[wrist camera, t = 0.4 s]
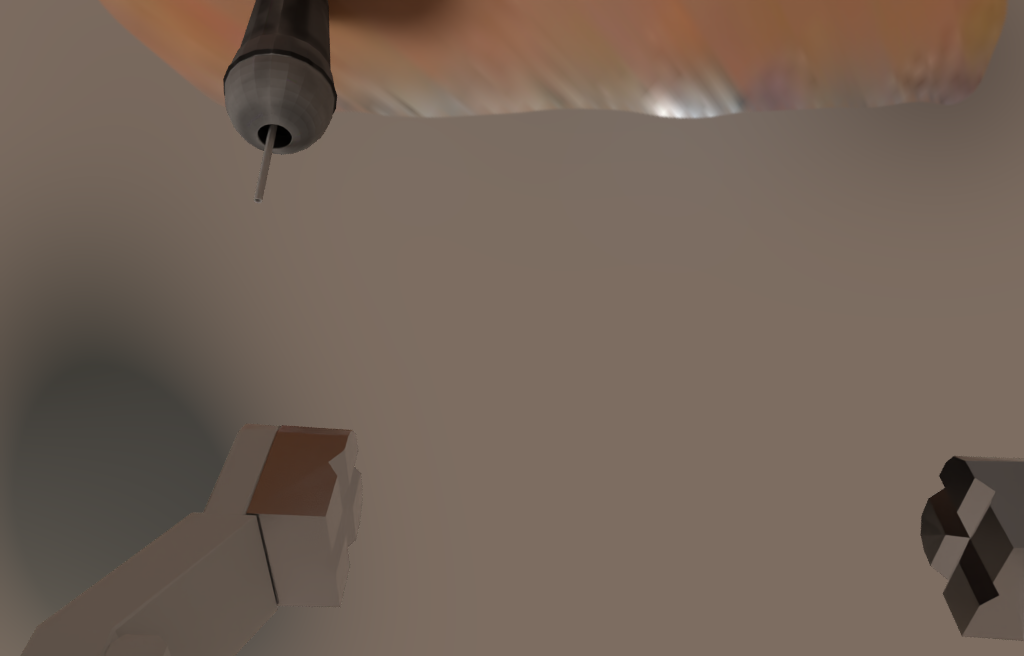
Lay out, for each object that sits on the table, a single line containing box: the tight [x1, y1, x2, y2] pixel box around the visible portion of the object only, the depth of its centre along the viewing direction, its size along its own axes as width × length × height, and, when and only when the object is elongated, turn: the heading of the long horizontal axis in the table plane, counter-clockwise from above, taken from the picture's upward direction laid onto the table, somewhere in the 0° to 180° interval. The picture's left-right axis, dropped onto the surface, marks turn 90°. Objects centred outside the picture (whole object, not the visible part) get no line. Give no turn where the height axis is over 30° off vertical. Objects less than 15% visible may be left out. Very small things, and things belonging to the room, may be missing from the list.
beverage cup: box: [223, 0, 337, 203], centre depth 56 cm, size 7×7×20 cm
